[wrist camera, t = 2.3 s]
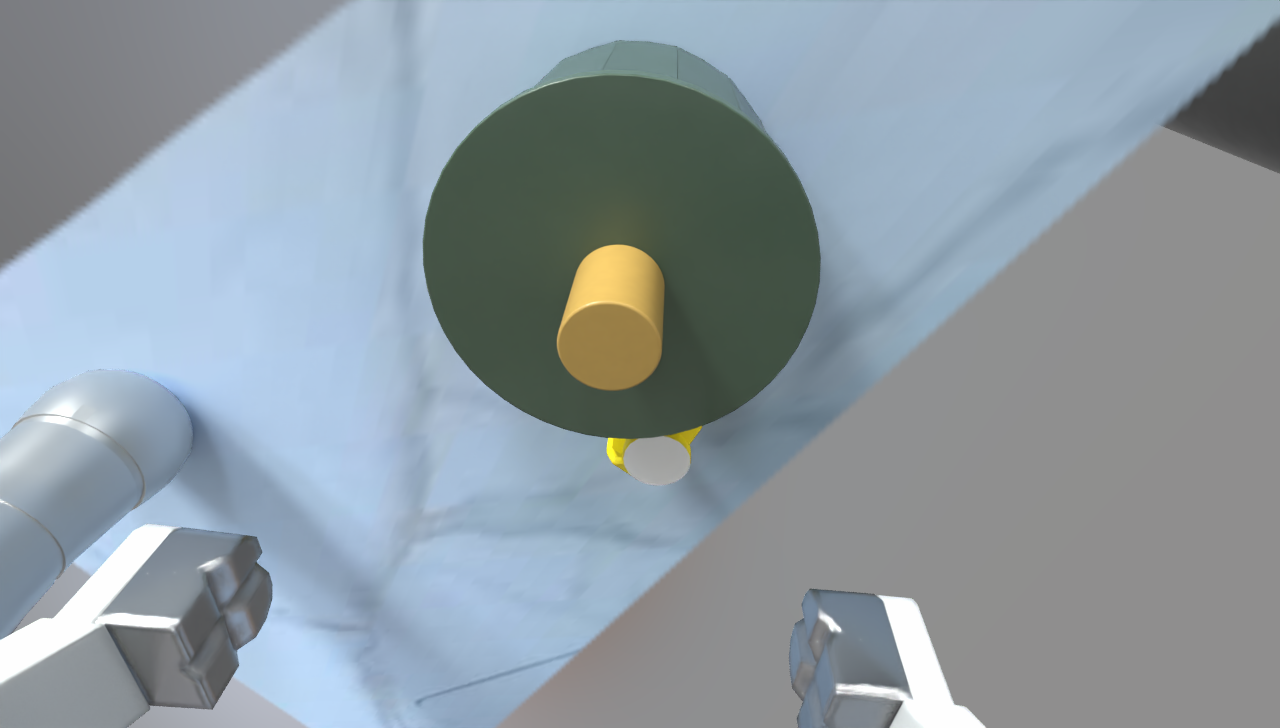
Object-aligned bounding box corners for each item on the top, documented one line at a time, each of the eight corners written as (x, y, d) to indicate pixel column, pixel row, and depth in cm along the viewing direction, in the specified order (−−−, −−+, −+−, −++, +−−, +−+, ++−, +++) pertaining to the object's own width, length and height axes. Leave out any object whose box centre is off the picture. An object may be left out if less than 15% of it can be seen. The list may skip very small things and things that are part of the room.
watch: (681, 317, 30) (682, 394, 25) (727, 352, 31) (737, 433, 26) (600, 399, 33) (586, 483, 28) (644, 428, 34) (638, 516, 29)
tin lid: (858, 88, 17) (911, 135, 13) (772, 432, 24) (791, 534, 20) (418, 43, 17) (341, 76, 13) (448, 400, 23) (401, 495, 20)
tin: (795, 56, 24) (843, 108, 17) (744, 314, 30) (765, 433, 23) (501, 26, 24) (427, 65, 17) (507, 290, 30) (453, 402, 23)
